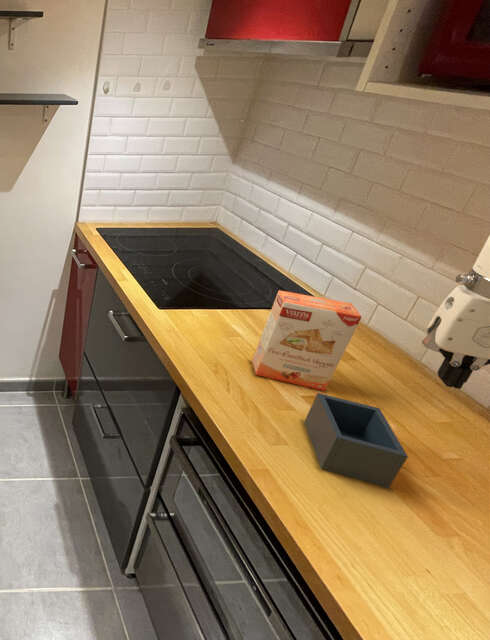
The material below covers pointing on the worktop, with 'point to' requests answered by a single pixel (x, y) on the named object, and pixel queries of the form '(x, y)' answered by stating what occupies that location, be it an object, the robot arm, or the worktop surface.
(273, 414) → the worktop surface
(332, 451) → the grey open box
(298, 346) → the cracker box
